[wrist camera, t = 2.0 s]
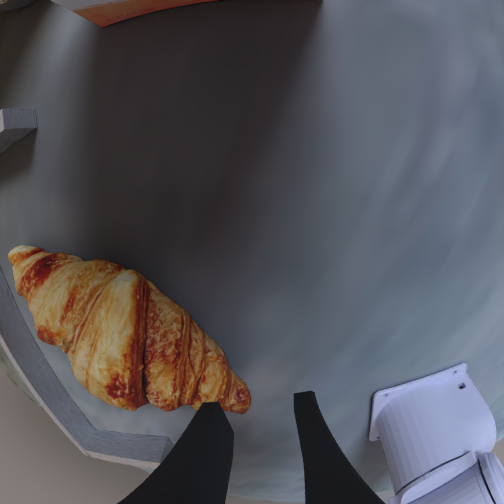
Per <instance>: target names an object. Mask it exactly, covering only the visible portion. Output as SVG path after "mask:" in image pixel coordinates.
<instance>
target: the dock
mask: <svg viewBox="0 0 504 504" xmlns="http://www.w3.org/2000/svg"><path fill="white" fill-rule="evenodd" d="M36 128H38V126H37V119H36V111H35V109H1V110H0V154H1V153H2V152H4V151H5V150H6V149H8V148H9V147H10V146H12V145H13V144H14V143H16V142H17V141H19V140H20V139H21V138H23V137H24V136H26V135H27V134H29V133H30V132H32V131H33V130H35V129H36ZM0 343H1V345H2V347H3V348H4V350H5V352H6V354H7V355H8V357H9V359H10V360H11V362H12V363H13V365H14V367H15V368H16V370H17V371H18V373H19V374H20V376H21V377H22V379H23V380H24V382H25V383H26V385H27V386H28V388H29V389H30V390H31V392H32V393H33V395H34V396H35V397H36V399H37V400H38V401H39V403H40V404H41V405H42V407H43V408H44V409H45V410H46V412H47V413H48V414H49V415H50V417H51V418H52V419H53V420H54V421H55V423H56V424H57V425H58V426H59V427H60V429H61V430H62V431H63V432H64V433H65V434H66V435H67V436H68V438H69V439H70V440H71V441H72V442H73V443H74V444H75V445H76V446H77V447H78V448H79V449H80V450H81V451H82V452H83V453H84V454H85V455H86V456H90V457H94V458H98V459H103V460H107V461H112V462H117V463H122V464H128V465H133V466H139V467H146V468H154V469H156V468H157V467H158V466H159V465H160V463H161V462H162V461H163V460H164V458H165V457H166V456H167V455H168V453H169V452H170V451H171V450H172V447H173V443H172V442H171V441H170V439H169V438H168V437H162V436H148V435H137V434H128V433H120V432H113V431H106V430H99V429H95V428H94V427H93V425H92V424H91V423H90V422H89V421H88V419H87V418H86V417H85V416H84V414H83V413H82V412H81V410H80V409H79V408H78V406H77V405H76V404H75V402H74V401H73V400H72V398H71V397H70V396H69V394H68V393H67V391H66V390H65V388H64V387H63V386H62V384H61V383H60V381H59V380H58V378H57V377H56V375H55V374H54V372H53V370H52V369H51V367H50V366H49V364H48V362H47V361H46V359H45V358H44V356H43V354H42V353H41V351H40V349H39V347H38V346H37V344H36V342H35V340H34V338H33V337H32V335H31V333H30V331H29V329H28V327H27V325H26V323H25V321H24V319H23V317H22V315H21V313H20V311H19V309H18V307H17V305H16V303H15V301H14V298H13V296H12V294H11V292H10V289H9V287H8V285H7V282H6V280H5V277H4V275H3V272H2V269H1V267H0Z"/></svg>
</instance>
